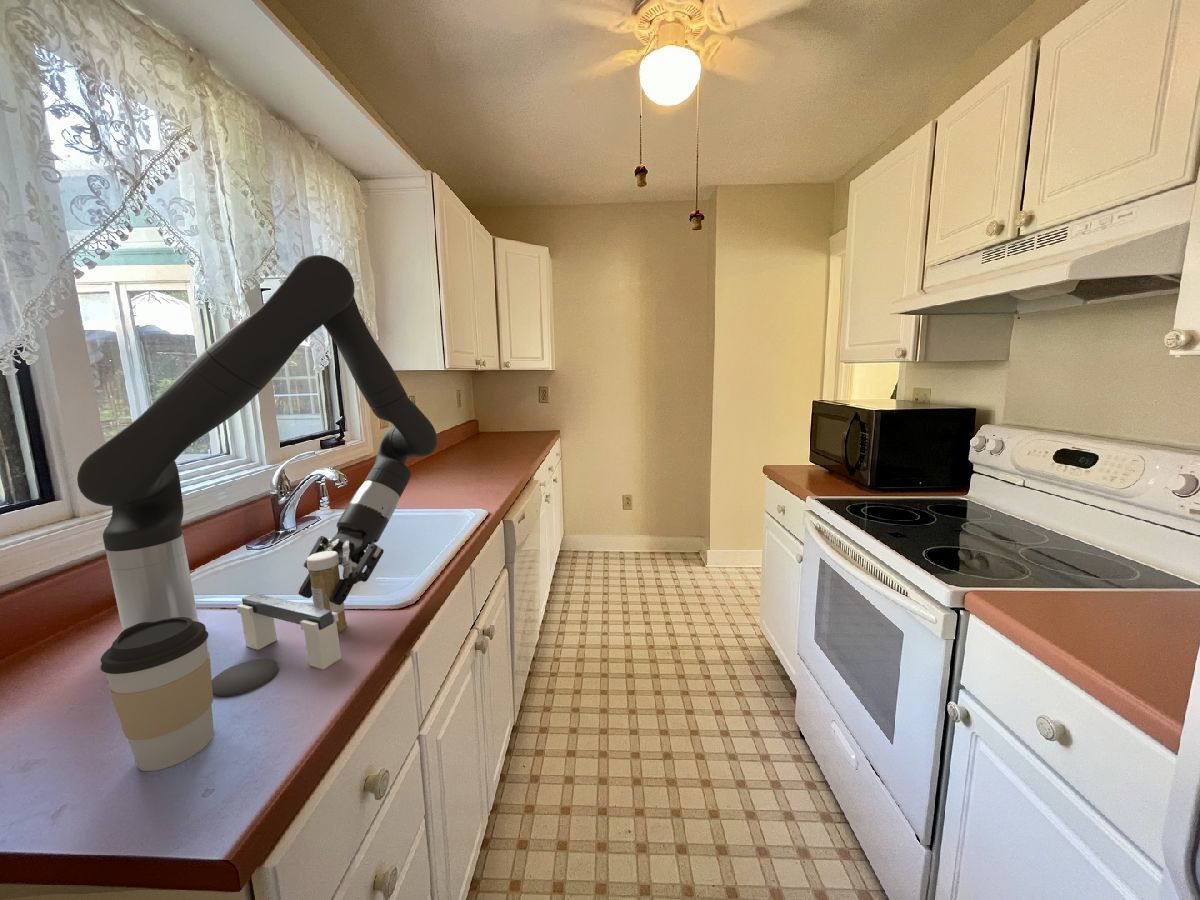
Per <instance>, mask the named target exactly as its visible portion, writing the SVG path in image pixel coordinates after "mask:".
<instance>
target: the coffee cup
mask: <svg viewBox="0 0 1200 900" xmlns="http://www.w3.org/2000/svg"><path fill="white" fill-rule="evenodd" d="M206 628H207V627H206V625H205V624H204V623H202V622H200V621H198V622H197V621H193V620H192V619H190V618H187V617H175V618H169V619H163V620H159V621H155V622H143V623H138V624H136V625H134V626H131V627H129V628H127V629H125V630H124V631H121V632H120V633H119V635H118V636H117V637H116V639H114V641H113V642H112V644H111V647H109V648H108V649H107V650H105V652H104V653H103V654H102V655H101V657H100V663H101V664H100V667H99V668H100V670H101V671H102V672H103V673H104V674H105V676H106V679H107V682H108V690H109V691H108V692H109V694H110V696H111V700H112V702H113V706H114V708H115V712H116V714H117V716H118V717H117V718H118V719H119V722H120V725H121V728H122V731H123V734H124V737H125V738H126V739H127V740H128V743H129V746H130V749H131V752H132V754H133V758H134V760H135V764H136V767H137V768H138V769H139V770H140V771H144V772H155V771H160V770H161V771H162V770H164V769H167V768H168V769H169V768H171V767H173V766H175V765H178V764H181V763H182V762H184V761H187V760H188V759H190V758H191V757H193V756H195V755H196V754H198V753H199V752H200V751H202V750H203V749H204V748H205V747H207V745H209V743H210V742H211V741H212V740H213V738H214V736H215V735H214V734H215V728H214V714H213V703H214V696H213V692H212V679H213V678H212V667H211V654H210V652H209V651H208V638H209V632H208V631H207V630H206Z"/></svg>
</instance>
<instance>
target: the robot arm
mask: <svg viewBox="0 0 1200 900" xmlns="http://www.w3.org/2000/svg"><path fill="white" fill-rule="evenodd" d="M355 287H356V286H355V283H354V277H353V276H352V274H351V271H349V269H348V268H347V267H346V266H345V265H344V264H343V263H342V262H340V261H339V260H337V259H336V258H333V257H331V256H328V255H323V254H314V255H309V256H308V255H307V256H305V257H303V258H302V259H300V260H299V261H298V262H296V264H295V265H293V268H292V269H291V271H290V272H289V274H288V275H287V276H286V278H285V279H284V280H283V281H282V282H281V284H280V285H279V286H278V288H277V289H276V290H275V291H274V293H273V294H272V295H271V296H270V297H269V298H268V299H267V301H265V303H263V304H262V306H261V307H260V308H258V310H256V311H255V312H253V313H252V314H251V315H249V316H248V317H246V318H245V319H243V320H242V321H240V323H238V324H235V326H233V327H232V328H230V329H229V330H228V331H226V332H225V333H224V334H222V335H221V336H220V337H219V338H218V339H216V340H215V341H214V342H213V343H212V344H210V345H209V346H208V347H207V348H206V349H205V350H204V351H203V352H202V353H201V354H200V355H199V356H197V358H195V359H194V360H193V361H192V362H191V363H190V364H189V366H187V368H185V369H184V371H183V372H182V373H181V374H180V375H178V377H177V378H176V379H175V380H173V382H172V383H170V385H168V386H167V387H166V388H165V390H163V392H162V393H161V394H160V395H159V396H158V397H157V398H156V399H155V400H154V401H153V402H152V403H151V405H149V407H148V408H147V409H146V410H144V412H143V413H141V415H140V416H138V417H137V418H136V419H135V420H134V421H133V422H131V423H130V424H129V425H128V426H126V427H125V428H123V429H122V430H121V431H120V432H118V433H117V434H115V435H114V436H113V437H112V438H110V439H109V440H107V442H105V443H104V444H103V445H101V446H100V447H99V448H96V450H94V451H92V452H91V453H90V454H89V455H88V456H87V457H86V458H85V459H84V460H83V462H82V463H81V464H80V467H79V469H78V472H77V479H76V480H77V486H78V489H79V491H80V493H81V494H82V496H83V497H84V498H85V499H87V500H88V501H90V502H91V503H94V504H97V505H101V506H105V507H111V508H112V512H111V516H110V520H109V522H108V524H107V526H106V527H105V529H104V530H103V533H102V541H103V545H104V549H105V554H106V559H107V563H108V567H109V572H110V577H111V582H112V587H113V592H114V596H115V600H116V605H117V607H116V608H117V610H118V616H119V620H120V625H121V630H122V631H124V630H125V629H127V628H129V627H131V626H134V625H136V624H138V623H143V622H155V621H159V620H163V619H169V618H175V617H187V618H190V619H192V620H193V621H197V622H199V617H198V611H197V605H196V600H195V594H194V589H193V588H194V587H193V584H192V578H191V573H190V572H191V571H190V565H189V561H188V557H187V551H186V546H185V541H184V535H183V530H182V521H183V518H184V502H183V495H182V486H181V479H180V473H179V469H178V465H177V462H176V459H178V458H179V456H180V455H181V454H182V453H184V452H185V450H186V449H187V448H189V447H190V446H191V445H193V443H195V442H196V441H197V440H199V439H200V438H202V437H203V436H205V435H206V434H208V433H209V432H211V431H212V430H213V429H215V428H217V427H219V426H220V425H221V424H223V423H224V422H226V421H227V420H229V419H230V418H231V417H232V416H234V415H235V414H236V413H238V412H240V410H242V409H243V408H244V407H245V406H246V405H247V404H249V402H251V400H253V399H254V398H255V397H256V396H257V395H258V394H259V393H260V392H261V391H262V390H263V389H264V388H265V387H266V386H267V385H268V384H269V383H270V382H271V380H272V379H273V378H274V377H275V376H276V375H277V374H278V373H279V371H280V370H281V369H282V367H283V366H285V364H286V363H287V362H288V360H289V359H290V358H291V356H292V355H293V354H294V352H295V351H296V350H297V349H298V348H299V346H300V345H301V344H302V343H303V342H304V341H305V340H306V339H307V338H308V337H310V336H311V334H313V333H314V332H316V331H317V330H318V329H320V327H322V326H323V327H324V328H325V330H326V331H327V333H329V336H330V337H331V339H332V340H333V342H334V343H335V345H336V347H337V349H338V351H339V352H340V354H341V356H342V358H343V360H344V362H345V364H346V366H347V368H348V370H349V373H350V374H351V376H352V378H353V379H354V382H355V384H356V386H357V387H358V389H359V391H360V392H361V395H362V396H363V398H364V400H365V401H366V402H367V404H368V406H369V408H370V409H371V411H372V413H373V414H374V415H375V417H377V419H380V420H382V421H386V422H389V423H391V424H392V425H391V426H390V427H389V428H388V429H387V430H386V432H384V434H383V436H382V438H381V440H380V444H379V446H378V449H377V454H376V457H375V462H374V465H373V466H372V468H371V469H370V471H369V472H368V475H367V476H366V478H365V479H364V480H363V483H362V484H361V485H360V486H359V488H358V489H357V490H356V491H355V493H354V495H353V496H352V498H351V499H350V501H349V503H348V505H347V506H346V507H345V509H344V511H343V513H342V514H341V515H340V517H339V519H338V521H337V523H336V528H337V532H336V534H334V536H333V537H332V538H327V537H326V536H324V535H321V536H319V537H318V539H317V541H316V542H315V544H314V545H313V548H312V549H311V551H310V553H309V555H308V556H307V558H308V557H309V556H310V555H312V554H315V553H319V552H323V551H335V552H337V553H338V558H339V563H338V564H339V565H338V566H342V567H343V573H342V578H340V580H339V582H338V584H337V586H336V588H335V589H334V591H333V593H332V595H331V596H330V598H329V601H330V602H332V603H334V604H336V605H341V604H342V603H343V602H344V603H345V601H346V600H347V598H348V596H349V594H350V593H351V590H352V589H353V587H354V585H355V584H358V583H359V582H361V581H362V582H363V583H366V582H367V581H368V580H369V579H370V576H371V574H373V571H374V570H375V568H376V566H377V565H378V563H379V562H380V560H381V558H382V557H383V554H384V552H385V551H384V549H383V548H381V547H380V546H379V545H377V544H375V543H377V542H379V540H380V538H381V536H382V535H383V533H384V531H385V529H386V527H387V526H388V524H389V522H390V520H391V518H392V517H393V514H394V513H395V510H396V509H397V506H398V503H399V501H400V499H401V497H402V496H403V493H404V491H405V490H406V487H407V486H408V484H409V482H410V480H411V477H412V474H411V473H412V472H411V469H410V468H409V467H408V466H407V465H406V464H405V463H406V462H407V460H408V459H409V458H424V457H427V456H428V457H429V456H430V455H431V454H432V453H434V451H435V450H436V448H437V445H438V436H437V435H438V434H437V432H436V430H435V427H434V425H433V424H432V423H431V421H430V420H429V418H428V417H427V416H426V415H425V414H424V413H423V411H421V409H420V408H419V407H418V406H417V405H416V404H415V403H414V402H413V401H412V400H411V399H410V397H409V396H408V394H407V392H406V390H405V389H404V386H403V384H402V383H401V381H400V378H399V377H398V375H397V373H396V372H395V370H394V369H393V367H392V365H391V363H390V362H389V360H388V359H387V358H386V356H385V354H384V353H383V352H382V349H381V348H380V347H379V345H378V344H377V342H376V341H375V339H374V338H373V336H372V333H371V332H370V331H369V329H368V327H367V325H366V323H365V320H364V319H363V317H362V314H361V312H360V310H359V307H358V304H357V302H356V299H355V289H356V288H355ZM303 567H304V568H306V570H308V567H307V559H306V560H305V562H303ZM365 567H366V568H365ZM364 568H365V569H364ZM363 571H364V572H363ZM298 595H299V596H301V597H304V598H305V599H310V598H313V596H312V590H311V579H310V572H309V570H308V575H307V576H306V577H305V579H304V580H303V582H302V584H301V586H300V587H299V590H298ZM122 631H121V632H122Z"/></svg>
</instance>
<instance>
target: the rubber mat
mask: <svg viewBox="0 0 1200 900" xmlns="http://www.w3.org/2000/svg"><path fill="white" fill-rule="evenodd" d="M278 670H279V663H278V662H277V660H276V659H273V658H268V657H265V658H263V657H262V658H255V659H251V660H246V661H243V662H239V663H237V664H235V665H232V666H230V667H228V668H226V669H224V670H223V671H221V672H220V673H218V674H217V675H215V676H214V677H213V678H212V692H213V697H217V698H220V697H221V698H225V697H233V696H238V695H241V694H245V693H247V692H250V691H253V690H255V689H257V688H260V687H261V686H263V685H264V684H266V683H268V682H269V681H270V680H272V679H273V678H274V677H275V676H276V674H277V673H278Z"/></svg>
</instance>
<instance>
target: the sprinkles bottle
mask: <svg viewBox="0 0 1200 900" xmlns="http://www.w3.org/2000/svg"><path fill="white" fill-rule="evenodd" d="M308 556H309V555H308ZM308 556H307V558H306V560H307V567H308V569H307V570H309V571H308V573H309V572H310V579H311V590H312V602H313V607H317V608H322V609H326V610H330V611H332V612H336V613H338V619H339V620H338V621H337V622H336V623H337V631H338V634H340V632H343V631H344V630H346V628H347V627H348V623H347V621H346V619H347V618H346V613H345V601H344V602H343V603H342V604H341V605H336V604H334V603H332V602H330V601H329V598H330V596H331V595H332V593H333V591H334V589H335V588H336V586H337V584H338V582H339V580H340V579H341V575H340V570H339V566H340V565H339V564H338V563H339V558H338V553H337V552H335V551H323V552H319V553H315V554H312V555H310V556H309V557H308Z"/></svg>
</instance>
